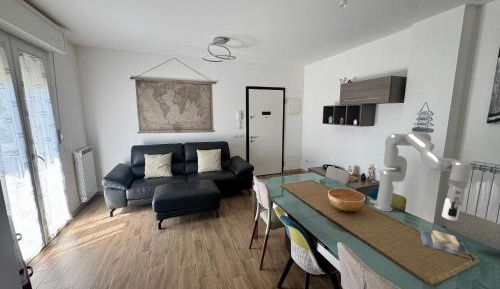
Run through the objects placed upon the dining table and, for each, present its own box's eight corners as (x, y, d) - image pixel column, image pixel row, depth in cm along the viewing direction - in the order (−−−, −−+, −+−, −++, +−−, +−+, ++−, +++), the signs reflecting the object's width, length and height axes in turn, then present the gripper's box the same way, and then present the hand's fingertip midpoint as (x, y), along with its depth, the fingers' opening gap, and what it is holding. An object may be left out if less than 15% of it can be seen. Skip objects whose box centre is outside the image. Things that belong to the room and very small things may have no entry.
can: (451, 221, 114) (456, 201, 112) (438, 215, 120) (443, 196, 118) (460, 220, 115) (465, 200, 113) (446, 215, 122) (451, 195, 120)
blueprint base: (423, 245, 118) (424, 237, 117) (419, 231, 133) (421, 224, 132) (472, 260, 107) (474, 252, 106) (462, 243, 122) (464, 236, 121)
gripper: (471, 189, 105) (463, 222, 108) (462, 181, 119) (455, 210, 122) (451, 185, 109) (444, 217, 112) (445, 178, 123) (438, 206, 126)
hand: (450, 213), depth 117 cm, fingers closed on can, 6 cm apart
